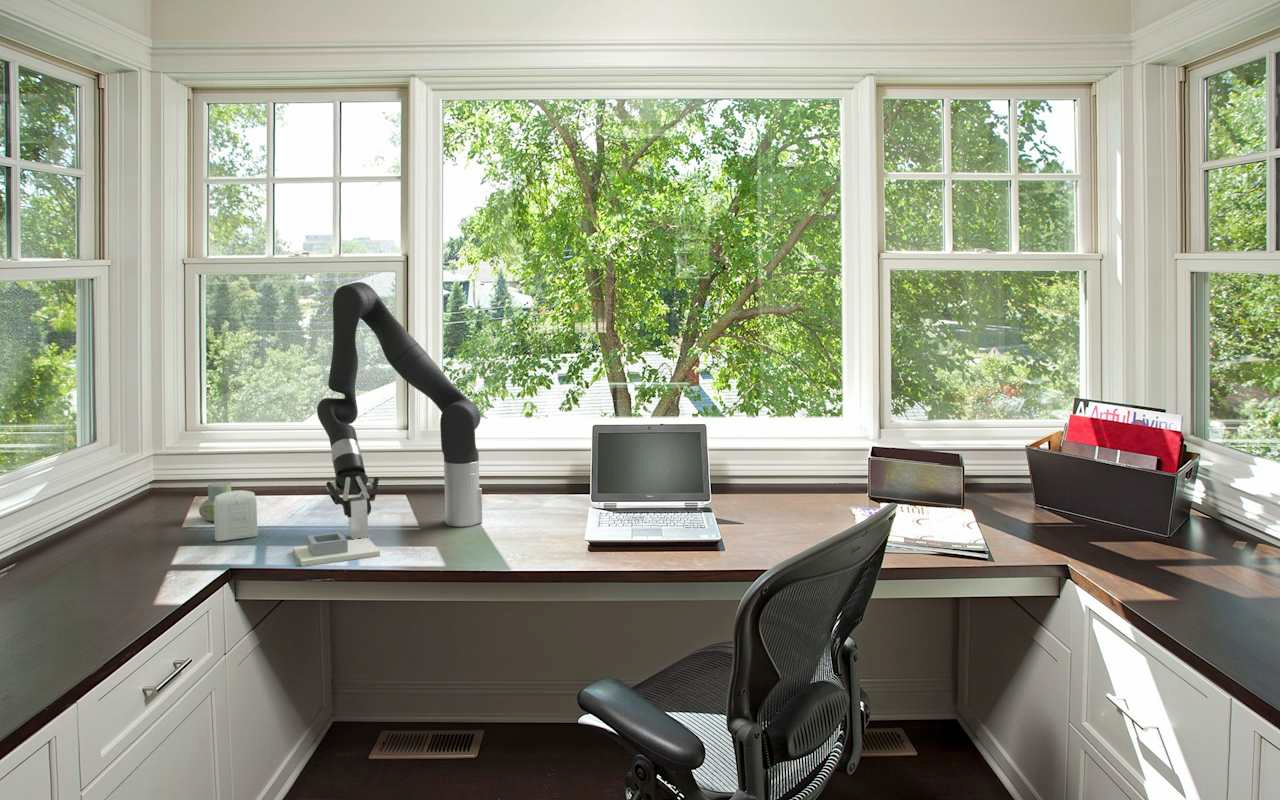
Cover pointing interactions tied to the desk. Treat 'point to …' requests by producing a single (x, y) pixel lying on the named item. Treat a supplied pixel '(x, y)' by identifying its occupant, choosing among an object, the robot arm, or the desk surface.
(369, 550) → the docking board
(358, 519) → the grainy grey brick
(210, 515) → the air freshener
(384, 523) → the desk surface
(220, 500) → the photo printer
